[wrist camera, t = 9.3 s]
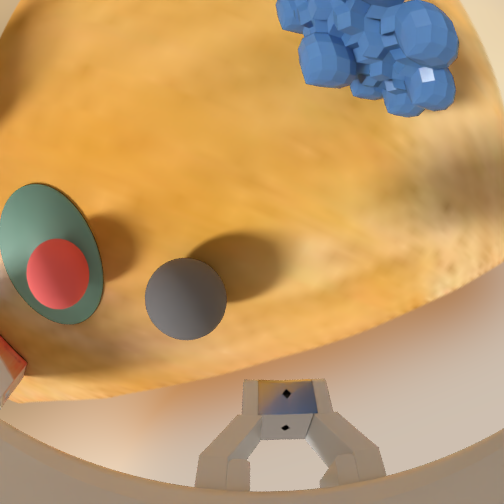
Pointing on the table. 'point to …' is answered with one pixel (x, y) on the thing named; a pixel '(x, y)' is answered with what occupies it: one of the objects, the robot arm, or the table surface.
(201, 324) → the ball
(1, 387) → the cracker box
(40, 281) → the ball
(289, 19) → the grapes
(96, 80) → the table surface
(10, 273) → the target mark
